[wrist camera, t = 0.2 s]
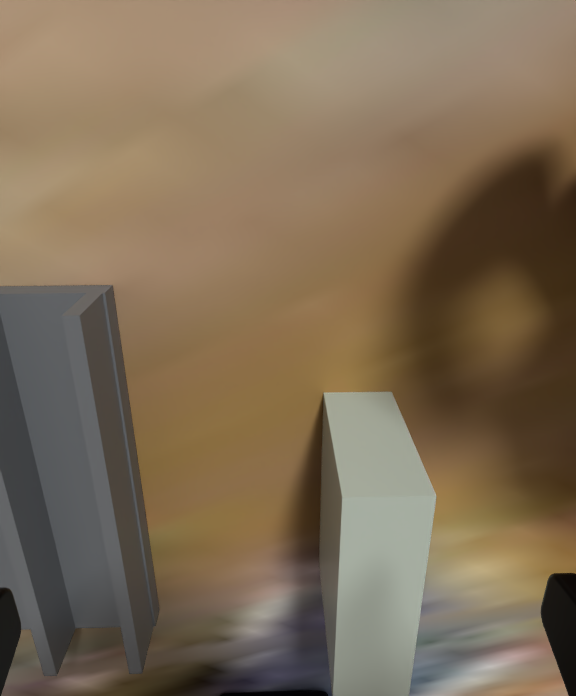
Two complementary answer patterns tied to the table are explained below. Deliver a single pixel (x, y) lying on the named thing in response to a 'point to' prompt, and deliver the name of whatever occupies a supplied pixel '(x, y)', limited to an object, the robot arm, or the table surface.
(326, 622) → the pale grey rectangular block
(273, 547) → the table surface
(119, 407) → the dish rack
